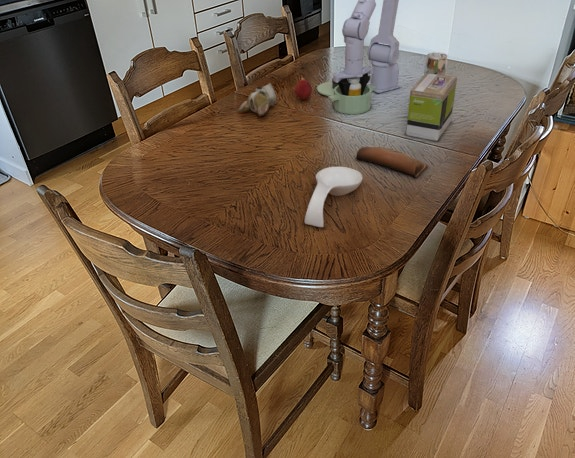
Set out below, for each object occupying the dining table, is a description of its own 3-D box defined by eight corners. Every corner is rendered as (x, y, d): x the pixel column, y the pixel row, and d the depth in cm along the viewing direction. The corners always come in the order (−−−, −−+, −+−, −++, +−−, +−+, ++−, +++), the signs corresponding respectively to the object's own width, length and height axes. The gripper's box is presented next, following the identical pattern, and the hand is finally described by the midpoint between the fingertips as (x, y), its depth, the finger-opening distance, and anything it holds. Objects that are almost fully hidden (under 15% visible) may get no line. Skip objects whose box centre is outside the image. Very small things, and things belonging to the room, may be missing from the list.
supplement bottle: (341, 104, 170) (342, 76, 165) (354, 100, 172) (355, 73, 166) (349, 109, 166) (350, 81, 161) (363, 106, 168) (364, 78, 162)
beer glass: (443, 96, 173) (450, 53, 164) (439, 104, 168) (445, 60, 159) (423, 94, 176) (428, 51, 167) (418, 101, 171) (424, 57, 162)
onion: (312, 97, 178) (312, 74, 173) (311, 103, 173) (311, 81, 168) (296, 97, 178) (295, 75, 173) (294, 103, 174) (294, 81, 169)
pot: (320, 106, 171) (320, 89, 167) (362, 95, 177) (363, 78, 174) (340, 119, 162) (340, 101, 158) (384, 106, 168) (385, 89, 165)
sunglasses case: (428, 164, 136) (425, 150, 130) (417, 185, 134) (414, 172, 129) (370, 147, 145) (365, 133, 139) (359, 166, 143) (353, 154, 138)
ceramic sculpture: (283, 80, 167) (259, 99, 157) (285, 104, 172) (262, 124, 163) (256, 76, 171) (231, 94, 162) (259, 99, 177) (235, 118, 167)
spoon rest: (325, 174, 135) (325, 150, 130) (367, 181, 131) (368, 157, 127) (291, 222, 118) (290, 197, 113) (338, 233, 114) (339, 207, 109)
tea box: (420, 116, 161) (426, 71, 152) (451, 122, 157) (459, 76, 148) (404, 135, 151) (410, 88, 142) (437, 142, 147) (445, 94, 138)
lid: (310, 89, 184) (310, 76, 181) (340, 81, 189) (340, 69, 186) (329, 101, 174) (329, 88, 171) (361, 92, 179) (361, 80, 176)
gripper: (342, 65, 154) (340, 107, 162) (379, 57, 159) (377, 97, 168) (329, 59, 159) (329, 100, 167) (366, 51, 165) (364, 90, 173)
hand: (352, 98), depth 168 cm, fingers closed on supplement bottle, 5 cm apart
